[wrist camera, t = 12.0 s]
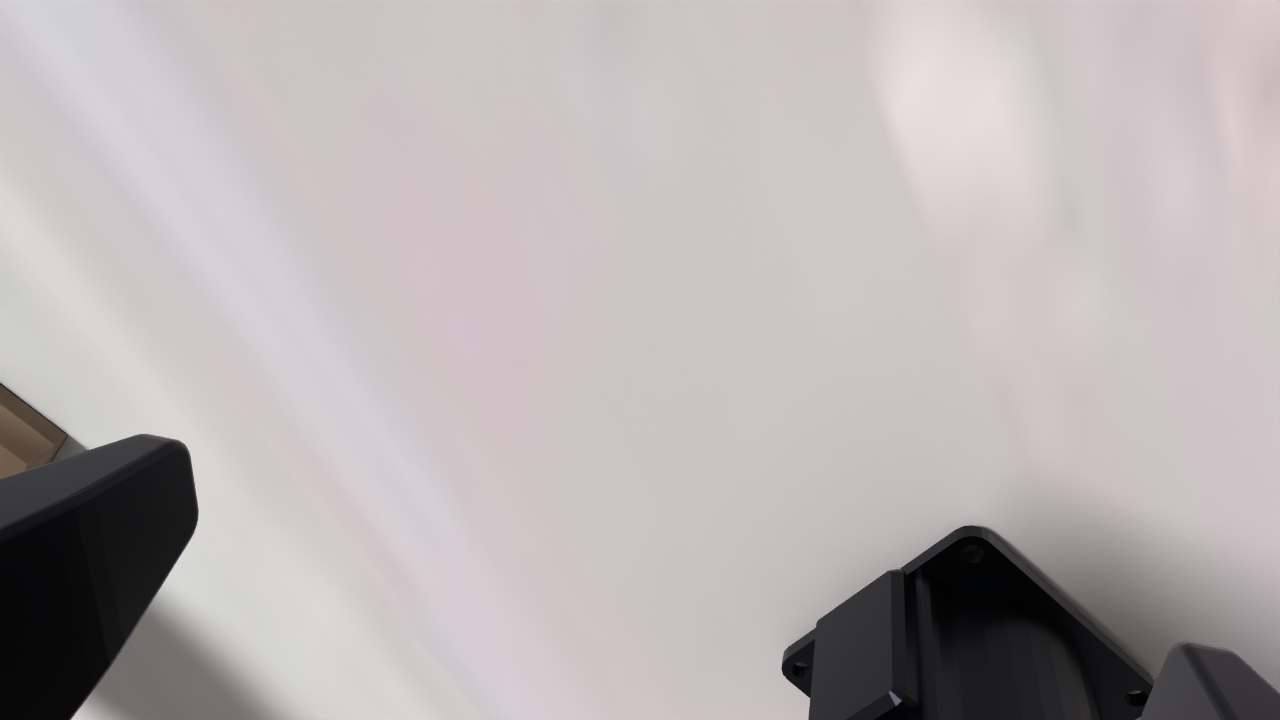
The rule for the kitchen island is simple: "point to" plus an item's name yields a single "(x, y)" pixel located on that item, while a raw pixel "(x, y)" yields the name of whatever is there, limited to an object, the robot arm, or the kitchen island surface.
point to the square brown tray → (25, 436)
